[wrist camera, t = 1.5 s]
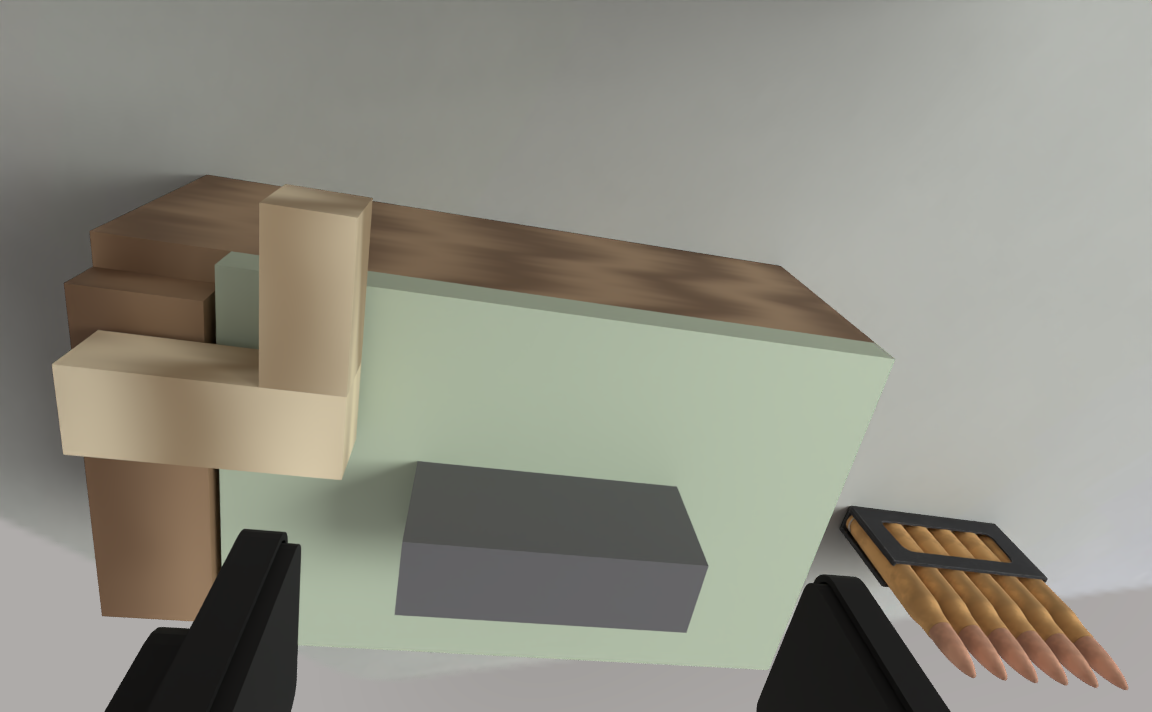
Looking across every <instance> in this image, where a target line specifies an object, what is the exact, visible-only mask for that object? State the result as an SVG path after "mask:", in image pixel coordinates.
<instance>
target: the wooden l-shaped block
mask: <svg viewBox="0 0 1152 712" xmlns="http://www.w3.org/2000/svg"><path fill="white" fill-rule="evenodd" d="M372 200H373V198H369V197H363V196H357V195H351V194H344V193H338V192H332V191H326V190H319V189H313V188H307V187H301V186H294V185H288V184H285V185H284V186H282V187H281V188H279V189H278V190H277V191H275V192H274V193H272V194H271V195H269V196H268V197H267V198H265V199H264V200H262V201H261V202H259V349H251V348H243V347H235V346H226V345H218V344H210V343H201V342H193V341H185V340H177V339H168V338H160V337H152V336H143V335H135V334H127V333H119V332H110V331H102V330H97V331H96V332H95V333H93V334H92V335H91V336H89V337H88V338H87V339H85V340H84V341H83V342H81V343H80V344H79V345H77V346H76V347H74V348H73V349H72V350H70V351H69V352H68V353H66V354H65V355H64V356H62V357H61V358H60V359H58V360H57V361H56V362H54V363H53V364H52V370H53V378H54V386H55V393H56V401H57V409H58V417H59V425H60V432H61V440H62V448H63V455H74V456H85V457H96V458H106V459H117V460H128V461H139V462H150V463H161V464H172V465H182V466H193V467H204V468H215V469H226V470H237V471H247V472H258V473H269V474H280V475H291V476H302V477H313V478H323V479H334V480H342V478H343V475H344V472H345V469H346V466H347V463H348V460H349V458H350V455H351V452H352V449H353V446H354V443H355V440H356V433H357V419H358V404H359V389H360V375H361V360H362V346H363V331H364V317H365V302H366V288H367V273H368V259H369V244H370V229H371V215H372Z"/></svg>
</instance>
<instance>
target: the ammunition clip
mask: <svg viewBox="0 0 1152 712" xmlns="http://www.w3.org/2000/svg"><path fill="white" fill-rule="evenodd" d="M840 530H841V532H842V533H843V534H844V536H845V537H846V538H847V540H848V541H849V542H850V544H851V545H852V546H853V548H854V549H855V550H856V552H857V553H858V554H859V556H860V557H861V558H862V560H863V561H864V563H865V564H866V565H867V567H868V568H869V569H870V571H871V572H872V573H873V575H874V576H875V578H876V579H877V580H878V582H879V583H880V584H881V586H883V587H890V589H891V590H892V592H893V593H894V594H895V596H896V597H897V598H898V600H899V601H900V603H901V604H902V605H903V607H904V608H905V610H906V611H907V612H908V614H909V615H910V616H911V617H912V619H913V620H914V621H916V622H917V623H918V624H919V625H920V626H921V627H922V628H923V629H924V631H925V632H926V633H927V635H928V636H929V637H930V638H931V639H932V640H933V641H934V643H935V644H936V645H937V647H938V648H939V649H940V650H941V652H942V653H943V654H944V655H945V656H946V657H947V658H948V660H950V661H951V662H952V663H953V664H954V665H955V666H956V667H957V668H958V669H959V670H961V671H962V672H963V673H965V674H966V675H968V676H970V677H972V678H975V677H976V672H975V668H974V665H973V662H972V660H971V657H970V655H969V653H968V651H969V652H970V653H971V654H972V655H973V656H974V658H975V659H977V661H978V662H979V663H980V664H981V665H983V666H984V667H985V668H986V669H987V670H988V671H990V672H991V673H992V674H993V675H995V676H996V677H998V678H1000V679H1002V680H1007V674H1006V670H1005V667H1004V665H1003V663H1002V660H1001V659H1000V656H1001V658H1002V659H1004V660H1005V662H1007V664H1009V665H1010V666H1011V667H1012V668H1013V669H1014V670H1016V671H1017V672H1018V673H1019V674H1020V675H1022V676H1023V677H1025V678H1026V679H1028V680H1030V681H1031V682H1034V683H1037V682H1038V678H1037V674H1036V671H1035V669H1034V667H1033V665H1032V663H1031V661H1032V662H1033V663H1034V664H1035V665H1036V666H1037V667H1038V668H1040V669H1041V670H1042V671H1043V672H1045V673H1046V674H1047V675H1048V676H1050V677H1051V678H1053V679H1054V680H1055V681H1057V682H1059V683H1061V684H1063V685H1067V684H1068V680H1067V676H1066V674H1065V672H1064V670H1063V668H1062V666H1061V664H1062V665H1063V666H1064V667H1065V668H1066V669H1067V670H1069V671H1070V672H1071V673H1072V674H1073V675H1075V676H1076V677H1077V678H1079V679H1080V680H1082V681H1083V682H1085V683H1086V684H1088V685H1090V686H1092V687H1094V688H1097V687H1098V681H1097V679H1096V676H1095V674H1094V673H1093V671H1092V669H1094V671H1096V672H1097V673H1098V674H1099V675H1101V676H1102V677H1103V678H1105V679H1106V680H1108V681H1109V682H1110V683H1112V684H1114V685H1115V686H1117V687H1119V688H1121V689H1124V690H1128V685H1127V682H1126V680H1125V678H1124V676H1123V675H1122V673H1121V671H1120V670H1119V668H1118V666H1117V665H1116V664H1115V662H1114V661H1113V660H1112V658H1111V657H1110V656H1109V655H1108V653H1107V652H1106V651H1105V650H1104V649H1103V648H1102V646H1101V645H1100V644H1099V643H1098V642H1097V641H1096V640H1095V639H1094V638H1093V636H1092V635H1091V634H1090V633H1089V632H1088V631H1087V630H1086V629H1085V627H1084V626H1083V625H1082V624H1081V622H1080V621H1079V619H1078V618H1077V616H1076V615H1075V613H1074V612H1073V611H1072V610H1071V609H1070V608H1069V607H1068V606H1067V605H1066V604H1065V603H1064V602H1063V601H1062V600H1061V599H1060V598H1059V597H1058V596H1057V595H1056V594H1055V593H1054V592H1053V591H1052V590H1051V589H1050V588H1049V587H1048V586H1047V585H1046V584H1045V582H1046V581H1047V577H1046V576H1045V575H1044V574H1043V573H1042V572H1041V571H1040V570H1039V569H1038V568H1037V567H1036V566H1035V565H1034V564H1033V563H1032V562H1031V561H1030V560H1029V559H1028V558H1027V557H1026V556H1025V555H1024V553H1023V552H1022V551H1021V550H1020V549H1019V548H1018V547H1017V546H1016V545H1015V544H1014V543H1013V542H1012V541H1011V540H1010V539H1009V538H1008V537H1007V536H1006V535H1005V534H1004V533H1003V532H1002V531H1001V530H1000V529H999V528H998V527H997V526H996V525H995V524H992V523H984V522H976V521H968V520H960V519H952V518H944V517H936V516H928V515H921V514H913V513H905V512H897V511H889V510H881V509H873V508H865V507H857V506H851V507H850V508H849V510H848V512H847V514H846V516H845V519H844V521H843V523H842V525H841V527H840ZM966 648H967V649H966ZM967 650H968V651H967ZM998 654H999V655H1000V656H999V655H998ZM1030 660H1031V661H1030ZM1059 662H1060V663H1061V664H1060V663H1059ZM1091 668H1092V669H1091Z"/></svg>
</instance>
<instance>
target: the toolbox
mask: <svg viewBox="0 0 1152 712" xmlns="http://www.w3.org/2000/svg"><path fill="white" fill-rule="evenodd" d="M279 188H281V186H274V185H268V184H262V183H255V182H249V181H243V180H237V179H230V178H224V177H218V176H211V175H205V176H203V177H201V178H199V179H197V180H195V181H193V182H191V183H189V184H187V185H185V186H183V187H180V188H178V189H176V190H174V191H172V192H170V193H168V194H166V195H164V196H162V197H160V198H158V199H156V200H153V201H151V202H149V203H147V204H145V205H143V206H141V207H139V208H137V209H135V210H133V211H131V212H128V213H126V214H124V215H122V216H120V217H118V218H116V219H114V220H112V221H110V222H108V223H106V224H103V225H101V226H99V227H97V228H95V229H93V230H91V231H90V241H91V251H92V262H93V267H91V268H90V269H88V270H86V271H84V272H83V273H81V274H79V275H77V276H76V277H74V278H72V279H70V280H69V281H67V282H65V283H64V289H65V298H66V307H67V315H68V324H69V333H70V341H71V350H72V349H73V348H74V347H76V346H77V345H79V344H80V343H81V342H83V341H84V340H85V339H87V338H88V337H89V336H91V335H92V334H93V333H95V332H96V331H97V330H102V331H110V332H119V333H127V334H135V335H143V336H152V337H160V338H168V339H177V340H185V341H193V342H201V343H210V344H216V303H215V264H216V263H217V262H219V261H220V260H221V259H222V258H224V257H225V256H226V255H227V254H229V253H230V252H231V251H232V252H239V253H246V254H253V255H259V202H261V201H262V200H264V199H265V198H267V197H268V196H269V195H271V194H272V193H274V192H275V191H277V190H278V189H279ZM368 271H373V272H380V273H387V274H394V275H401V276H408V277H415V278H422V279H429V280H436V281H443V282H450V283H457V284H464V285H471V286H478V287H485V288H492V289H499V290H506V291H513V292H520V293H527V294H534V295H541V296H548V297H555V298H562V299H569V300H576V301H583V302H590V303H597V304H604V305H611V306H618V307H625V308H633V309H640V310H647V311H654V312H661V313H668V314H675V315H682V316H689V317H696V318H703V319H710V320H717V321H724V322H731V323H738V324H745V325H752V326H759V327H766V328H773V329H780V330H787V331H794V332H801V333H808V334H815V335H822V336H829V337H836V338H843V339H850V340H857V341H864V342H871V343H875V342H873V341H872V340H871V339H870V338H868V337H867V336H866V335H865V334H864V333H862V332H861V331H860V330H859V329H857V328H856V327H855V326H854V325H853V324H851V323H850V322H849V321H848V320H846V319H845V318H844V317H843V316H841V315H840V314H839V313H838V312H837V311H835V310H834V309H833V308H832V307H830V306H829V305H828V304H827V303H825V302H824V301H823V300H822V299H821V298H819V297H818V296H817V295H816V294H814V293H813V292H812V291H811V290H810V289H808V288H807V287H806V286H805V285H803V284H802V283H801V282H800V281H798V280H797V279H796V278H795V277H794V276H792V275H791V274H790V273H789V272H787V271H786V270H785V269H784V268H783V267H781V266H777V265H771V264H764V263H758V262H752V261H746V260H739V259H733V258H727V257H720V256H714V255H708V254H702V253H695V252H689V251H683V250H676V249H670V248H664V247H658V246H651V245H645V244H639V243H632V242H626V241H620V240H614V239H607V238H601V237H595V236H588V235H582V234H576V233H570V232H563V231H557V230H551V229H544V228H538V227H532V226H526V225H519V224H513V223H507V222H500V221H494V220H488V219H482V218H475V217H469V216H463V215H456V214H450V213H444V212H438V211H431V210H425V209H419V208H412V207H406V206H400V205H394V204H387V203H381V202H375V201H372V215H371V229H370V244H369V259H368ZM84 463H85V472H86V481H87V489H88V498H89V507H90V515H91V524H92V533H93V541H94V550H95V559H96V568H97V576H98V584H99V593H100V602H101V610H102V616H109V617H128V618H145V619H162V620H180V621H194V620H195V618H196V616H197V614H198V612H199V610H200V608H201V606H202V604H203V602H204V600H205V598H206V596H207V595H208V593H209V591H210V589H211V587H212V585H213V583H214V581H215V579H216V577H217V575H218V573H219V571H220V569H221V567H222V560H221V517H220V474H219V469H215V468H204V467H193V466H182V465H172V464H161V463H150V462H139V461H128V460H117V459H106V458H96V457H85V456H84Z"/></svg>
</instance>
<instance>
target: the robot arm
mask: <svg viewBox="0 0 1152 712" xmlns="http://www.w3.org/2000/svg"><path fill="white" fill-rule="evenodd" d="M300 573H301V545H300V544H294V543H288V536H287V533H286V532H280V531H268V530H255V529H243V530H241V532H240V533H239V535H238V536H237V538H236V540H235V542H234V544H233V546H232V548H231V550H230V552H229V554H228V556H227V558H226V560H225V562H224V564H223V566H222V567H221V569H220V571H219V573H218V575H217V577H216V579H215V581H214V583H213V585H212V587H211V589H210V591H209V593H208V595H207V596H206V598H205V600H204V602H203V604H202V606H201V608H200V610H199V612H198V614H197V616H196V618H195V620H194V622H193V624H192V626H191V627H190V629H186V628H169V627H159V628H157V629H156V630H154V631H153V632H152V633H151V634H150V636H149V637H148V638H147V640H146V641H145V643H144V644H143V646H142V648H141V650H140V651H139V653H138V655H137V656H136V658H135V660H134V662H133V663H132V665H131V667H130V669H129V670H128V672H127V674H126V675H125V677H124V679H123V681H122V682H121V684H120V686H119V688H118V690H117V691H116V693H115V694H114V696H113V698H112V700H111V701H110V703H109V705H108V707H107V708H106V710H105V712H291V709H292V705H293V700H294V696H295V690H296V681H297V654H298V627H299V600H300ZM757 712H950V710H949V709H948V707H947V706H946V704H945V703H944V701H943V700H942V698H941V697H940V695H939V694H938V692H937V691H936V689H935V688H934V687H933V685H932V683H931V682H930V681H929V679H928V678H927V676H926V675H925V673H924V672H923V670H922V669H921V667H920V666H919V664H918V663H917V661H916V660H915V658H914V657H913V655H912V654H911V652H910V651H909V649H908V648H907V646H906V645H905V643H904V642H903V640H902V639H901V637H900V636H899V634H898V633H897V632H896V630H895V628H894V627H893V625H892V624H891V623H890V621H889V620H888V618H887V617H886V615H885V614H884V612H883V611H882V609H881V608H880V606H879V605H878V603H877V602H876V600H875V599H874V597H873V596H872V594H871V593H870V591H869V590H868V588H867V587H866V585H865V584H864V583H863V582H862V581H861V580H860V579H859V578H857V577H850V576H837V575H820V576H818V577H817V578H816V579H815V581H814V583H809V584H808V585H806V587H805V588H804V590H803V593H802V595H801V598H800V600H799V602H798V605H797V607H796V610H795V612H794V615H793V617H792V620H791V622H790V624H789V627H788V629H787V632H786V634H785V637H784V639H783V642H782V644H781V647H780V649H779V651H778V654H777V656H776V659H775V661H774V663H773V666H772V669H771V671H770V673H769V676H768V678H767V681H766V683H765V685H764V688H763V690H762V693H761V695H760V698H759V700H758V703H757Z"/></svg>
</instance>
